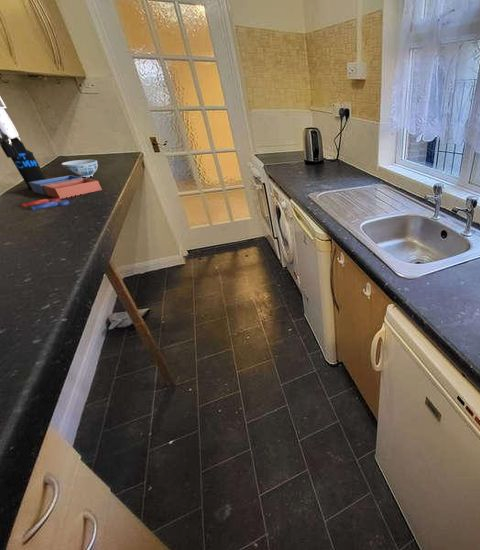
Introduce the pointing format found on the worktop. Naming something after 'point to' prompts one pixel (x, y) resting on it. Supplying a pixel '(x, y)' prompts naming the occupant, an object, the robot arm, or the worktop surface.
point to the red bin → (72, 188)
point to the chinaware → (81, 167)
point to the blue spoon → (49, 204)
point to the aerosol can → (28, 168)
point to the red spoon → (40, 202)
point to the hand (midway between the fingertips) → (18, 155)
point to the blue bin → (39, 188)
